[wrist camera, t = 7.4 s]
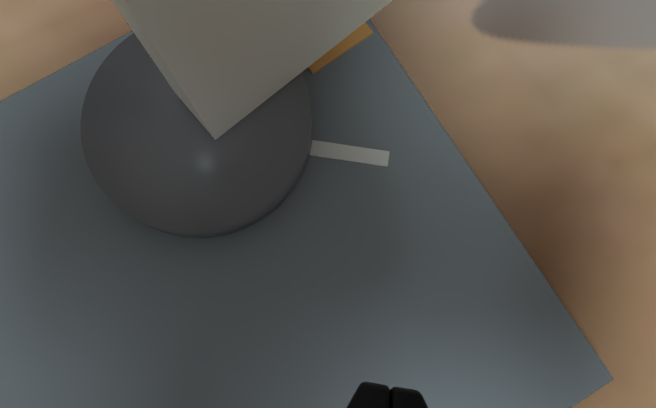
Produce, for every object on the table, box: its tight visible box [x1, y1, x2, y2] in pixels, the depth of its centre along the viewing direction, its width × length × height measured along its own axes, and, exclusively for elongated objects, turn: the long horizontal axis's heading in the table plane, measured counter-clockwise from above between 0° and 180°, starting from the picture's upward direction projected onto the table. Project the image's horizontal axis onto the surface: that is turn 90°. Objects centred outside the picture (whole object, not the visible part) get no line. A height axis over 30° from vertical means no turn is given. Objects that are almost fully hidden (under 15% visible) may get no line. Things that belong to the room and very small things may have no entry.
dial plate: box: [0, 19, 613, 408], centre depth 18 cm, size 18×17×1 cm
